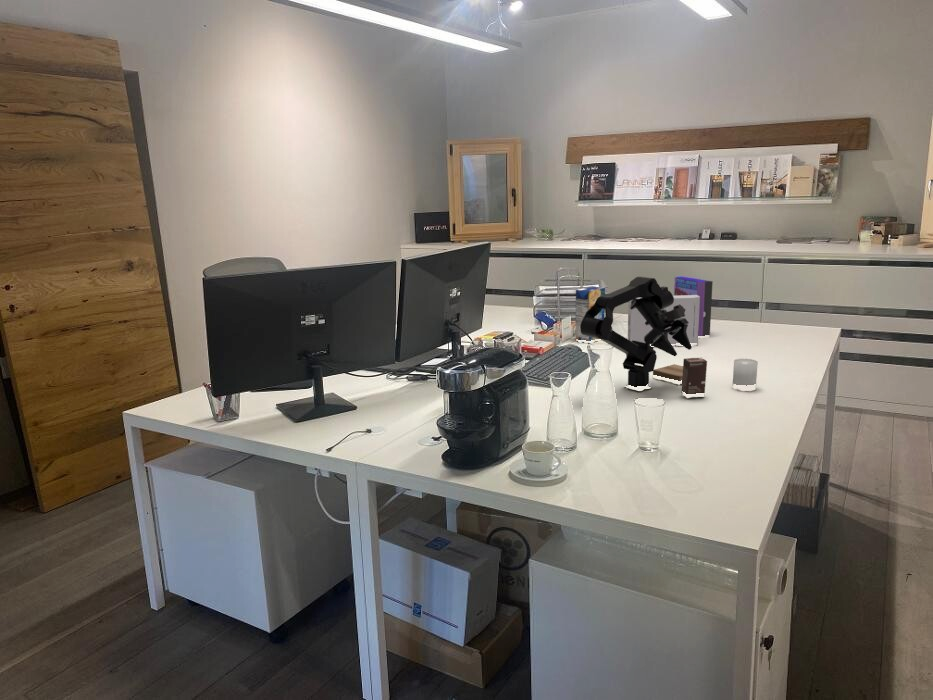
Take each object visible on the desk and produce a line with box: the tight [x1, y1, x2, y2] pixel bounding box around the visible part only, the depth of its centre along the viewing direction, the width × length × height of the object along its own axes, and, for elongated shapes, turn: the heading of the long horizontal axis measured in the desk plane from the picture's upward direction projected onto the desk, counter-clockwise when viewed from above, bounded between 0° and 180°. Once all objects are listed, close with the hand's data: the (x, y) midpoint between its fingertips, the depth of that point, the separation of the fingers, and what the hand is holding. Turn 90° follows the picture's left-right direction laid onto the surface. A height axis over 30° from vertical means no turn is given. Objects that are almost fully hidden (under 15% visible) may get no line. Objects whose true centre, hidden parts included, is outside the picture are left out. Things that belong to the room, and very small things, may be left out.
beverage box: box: [575, 286, 606, 341], centre depth 295 cm, size 7×11×22 cm, turn 135°
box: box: [681, 357, 708, 394], centre depth 219 cm, size 6×4×12 cm
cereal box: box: [673, 276, 713, 336], centre depth 300 cm, size 17×5×24 cm, turn 25°
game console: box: [627, 295, 700, 344], centre depth 283 cm, size 6×27×20 cm, turn 89°
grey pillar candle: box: [732, 358, 759, 386], centre depth 225 cm, size 7×7×9 cm
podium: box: [652, 363, 683, 381], centre depth 239 cm, size 11×11×3 cm
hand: (683, 352), depth 220 cm, fingers open, 9 cm apart
